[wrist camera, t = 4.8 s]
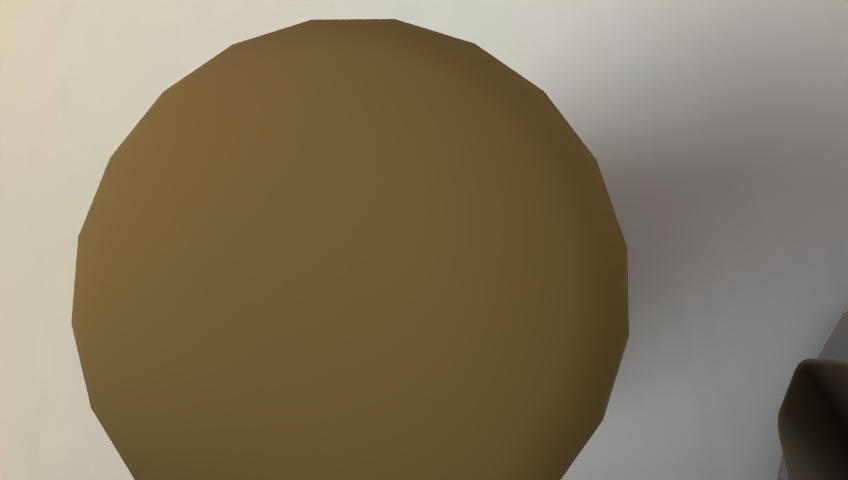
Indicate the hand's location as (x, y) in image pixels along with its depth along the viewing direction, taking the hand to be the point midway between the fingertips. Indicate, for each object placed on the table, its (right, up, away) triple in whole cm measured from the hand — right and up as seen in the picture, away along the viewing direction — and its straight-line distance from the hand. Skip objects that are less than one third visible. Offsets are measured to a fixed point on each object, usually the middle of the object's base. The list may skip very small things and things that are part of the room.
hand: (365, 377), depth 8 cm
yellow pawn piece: (0, 0, +9) cm, 9 cm away
